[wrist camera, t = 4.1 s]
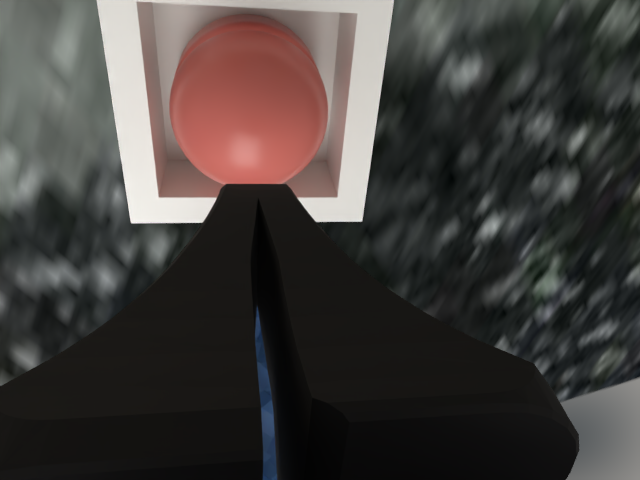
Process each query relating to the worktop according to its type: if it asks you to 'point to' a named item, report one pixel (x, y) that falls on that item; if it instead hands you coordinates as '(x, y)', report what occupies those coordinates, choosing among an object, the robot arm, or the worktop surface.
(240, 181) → the dome button
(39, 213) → the worktop surface
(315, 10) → the dome base
